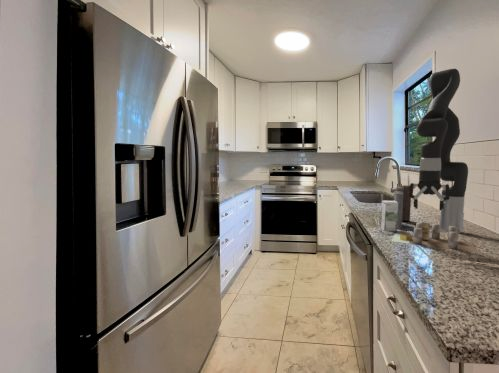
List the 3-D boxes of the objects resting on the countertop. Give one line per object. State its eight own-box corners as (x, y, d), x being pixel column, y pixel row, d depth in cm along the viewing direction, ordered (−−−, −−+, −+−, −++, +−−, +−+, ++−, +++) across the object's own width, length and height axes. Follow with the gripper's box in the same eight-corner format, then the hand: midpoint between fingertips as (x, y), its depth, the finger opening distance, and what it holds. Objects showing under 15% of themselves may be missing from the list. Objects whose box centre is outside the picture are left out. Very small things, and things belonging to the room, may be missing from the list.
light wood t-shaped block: (429, 224, 136) (430, 216, 127) (428, 240, 134) (428, 234, 125) (421, 223, 137) (421, 216, 129) (420, 239, 135) (419, 233, 127)
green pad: (411, 237, 143) (412, 235, 143) (408, 245, 129) (408, 243, 129) (395, 235, 146) (396, 233, 146) (390, 243, 132) (390, 241, 132)
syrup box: (392, 229, 159) (393, 200, 158) (396, 232, 153) (398, 201, 152) (380, 229, 159) (381, 199, 158) (384, 231, 154) (385, 201, 152)
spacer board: (473, 244, 132) (475, 227, 131) (477, 255, 118) (478, 236, 117) (412, 237, 143) (412, 221, 143) (408, 245, 129) (409, 228, 128)
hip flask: (392, 222, 176) (394, 185, 174) (400, 223, 175) (402, 186, 173) (394, 228, 161) (396, 188, 159) (403, 229, 160) (405, 188, 158)
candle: (408, 222, 176) (411, 186, 174) (394, 221, 180) (396, 185, 178) (410, 220, 183) (412, 185, 181) (396, 219, 186) (398, 184, 185)
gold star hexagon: (407, 237, 139) (407, 232, 139) (414, 240, 134) (414, 235, 134) (396, 237, 138) (397, 233, 138) (403, 240, 134) (403, 235, 133)
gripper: (450, 169, 130) (448, 209, 131) (411, 168, 137) (409, 206, 139) (451, 170, 123) (448, 212, 125) (409, 169, 131) (407, 209, 132)
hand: (428, 209), depth 132 cm, fingers open, 8 cm apart
